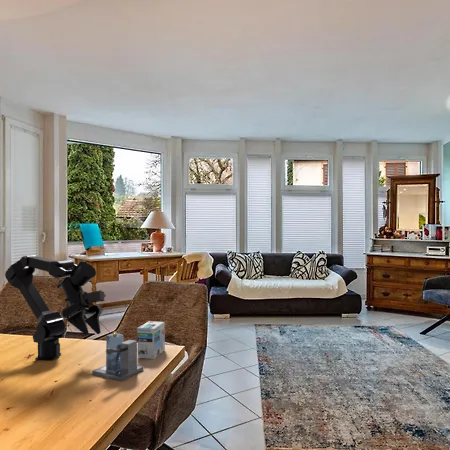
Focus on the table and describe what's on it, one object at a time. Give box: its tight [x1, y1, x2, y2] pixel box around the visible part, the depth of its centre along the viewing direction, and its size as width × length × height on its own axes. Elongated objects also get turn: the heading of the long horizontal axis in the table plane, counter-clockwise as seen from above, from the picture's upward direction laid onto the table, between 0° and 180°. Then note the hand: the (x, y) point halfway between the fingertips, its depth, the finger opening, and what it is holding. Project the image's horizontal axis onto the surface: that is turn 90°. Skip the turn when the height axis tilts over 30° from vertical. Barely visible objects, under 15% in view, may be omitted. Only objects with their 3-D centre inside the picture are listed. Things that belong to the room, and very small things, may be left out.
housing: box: [105, 331, 124, 370], centre depth 124 cm, size 5×5×11 cm
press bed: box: [92, 339, 144, 382], centre depth 121 cm, size 12×14×11 cm
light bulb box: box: [136, 320, 166, 360], centre depth 141 cm, size 11×7×11 cm, turn 168°
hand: (93, 334), depth 128 cm, fingers open, 9 cm apart
